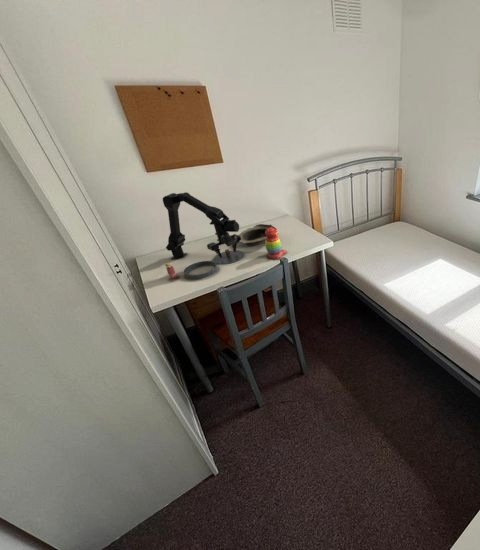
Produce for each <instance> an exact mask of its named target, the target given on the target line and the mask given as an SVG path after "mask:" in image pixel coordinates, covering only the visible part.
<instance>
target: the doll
mask: <svg viewBox="0 0 480 550" xmlns="http://www.w3.org/2000/svg"><path fill="white" fill-rule="evenodd" d="M164 266H165V267H166V268H165V270H166V272H167V275H168V277H169V280H170V281H171V280H172V281H173V280H177V279H178V278H179V276H178V275H177V273H176V270H175V268H174V266H173V264H172V262H170V261H167V262H165V263H164Z"/></svg>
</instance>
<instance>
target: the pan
mask: <svg viewBox="0 0 480 550" xmlns="http://www.w3.org/2000/svg"><path fill="white" fill-rule="evenodd" d="M202 266H213V268H212V269H210V270H208V271H207V272H202V273H198V274H189V272H191V271H192V270H194V269H196V268H200V267H202ZM218 270H219V266H218V264H217V263H216V262H214V261H213V260H202V261H197V262H194V263H192V264H190V265H187V266H186V267H185V268H184V270H183V274H184V276H185V278H186V279H188V280H192V281H193V280H195V281H197V280H202V279H207V278H209V277H211V276H213V275H215V274H216V273H217V272H218Z"/></svg>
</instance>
